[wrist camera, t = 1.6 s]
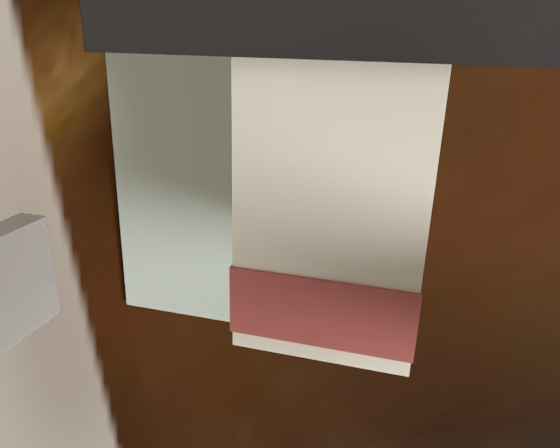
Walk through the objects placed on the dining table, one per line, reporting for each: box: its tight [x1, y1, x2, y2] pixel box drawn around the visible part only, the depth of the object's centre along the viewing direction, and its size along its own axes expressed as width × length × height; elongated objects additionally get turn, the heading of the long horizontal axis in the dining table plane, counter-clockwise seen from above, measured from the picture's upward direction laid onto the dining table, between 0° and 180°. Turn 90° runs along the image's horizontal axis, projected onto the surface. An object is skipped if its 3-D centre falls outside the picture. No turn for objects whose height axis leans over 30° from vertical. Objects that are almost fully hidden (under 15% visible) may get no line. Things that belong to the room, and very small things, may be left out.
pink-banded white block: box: [229, 57, 452, 377], centre depth 16 cm, size 14×5×11 cm, turn 178°
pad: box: [105, 53, 232, 322], centre depth 25 cm, size 14×8×1 cm, turn 178°
